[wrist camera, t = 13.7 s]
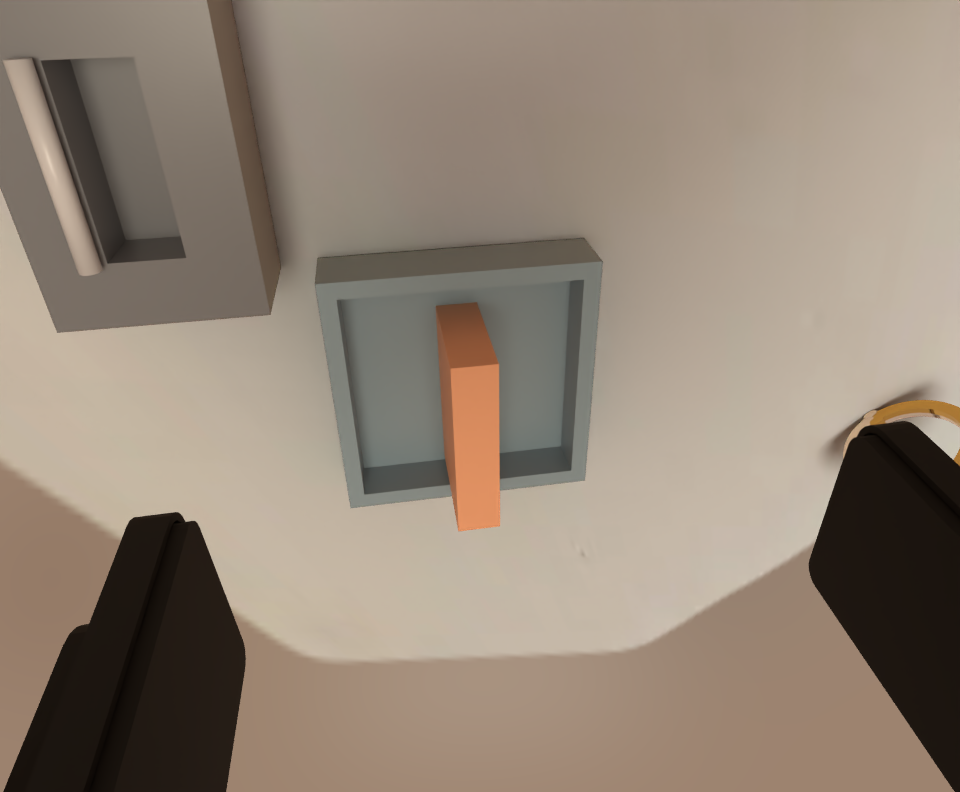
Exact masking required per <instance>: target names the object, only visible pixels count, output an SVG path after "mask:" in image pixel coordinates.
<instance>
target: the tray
mask: <svg viewBox="0 0 960 792" xmlns="http://www.w3.org/2000/svg"><path fill="white" fill-rule="evenodd" d="M602 265H603V261H602V260H601V259H600V257H599V256H598V255H597V254H596V252H595V251H594V250H593V249H592V247H591V246H590V245H589V244H588V243H587V241H586V240H585V239H584V238H579V239H566V240H553V241H539V242H526V243H513V244H499V245H486V246H473V247H459V248H446V249H433V250H419V251H406V252H392V253H379V254H366V255H352V256H339V257H326V258H318V259H317V269H316V278H315V288H316V295H317V301H318V307H319V313H320V320H321V326H322V332H323V338H324V345H325V351H326V357H327V363H328V370H329V376H330V382H331V388H332V395H333V401H334V407H335V413H336V420H337V426H338V432H339V438H340V445H341V451H342V457H343V463H344V470H345V476H346V482H347V488H348V495H349V501H350V507H351V508H357V507H365V506H373V505H382V504H390V503H399V502H407V501H416V500H424V499H433V498H441V497H450V496H452V493H451V488H450V482H449V477H448V471H447V466H446V461H445V455H444V439H443V423H442V406H441V389H440V373H439V356H438V340H437V323H436V306H439V305H450V304H462V303H474V302H477V304H478V307H479V310H480V313H481V315H482V318H483V321H484V324H485V326H486V329H487V332H488V335H489V338H490V340H491V343H492V346H493V349H494V352H495V354H496V357H497V360H498V363H499V454H500V490H509V489H517V488H526V487H534V486H543V485H551V484H560V483H568V482H577V481H585V473H586V461H587V449H588V436H589V424H590V412H591V400H592V387H593V375H594V363H595V351H596V339H597V326H598V314H599V302H600V290H601V277H602Z"/></svg>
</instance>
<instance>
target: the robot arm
mask: <svg viewBox="0 0 960 792" xmlns="http://www.w3.org/2000/svg"><path fill="white" fill-rule="evenodd" d="M809 572H810V576H811V579H812V581H813V583H814V585H815V587H816V588H817V590H818V591H819V592H820V594H821V595H822V597H823V598H824V600H825V601H826V603H827V604H828V606H829V607H830V609H831V610H832V612H833V613H834V615H835V616H836V618H837V619H838V621H839V622H840V623H841V625H842V626H843V628H844V629H845V631H846V632H847V634H848V635H849V637H850V638H851V640H852V641H853V643H854V644H855V646H856V647H857V649H858V650H859V652H860V653H861V654H862V656H863V657H864V659H865V660H866V662H867V663H868V665H869V666H870V668H871V669H872V671H873V672H874V673H875V675H876V676H877V678H878V680H879V681H880V682H881V684H882V685H883V687H884V688H885V689H886V691H887V692H888V694H889V696H890V697H891V698H892V700H893V702H894V703H895V705H896V706H897V708H898V709H899V710H900V712H901V713H902V715H903V716H904V718H905V719H906V721H907V722H908V724H909V725H910V727H911V728H912V729H913V731H914V732H915V734H916V736H917V737H918V739H919V740H920V741H921V743H922V744H923V746H924V747H925V749H926V750H927V752H928V753H929V755H930V756H931V758H932V759H933V760H934V762H935V764H936V765H937V767H938V768H939V769H940V771H941V772H942V774H943V775H944V777H945V778H946V780H947V781H948V783H949V784H950V786H951V787H952V789H953V790H954V791H955V792H960V466H959V465H958V464H957V463H956V462H955V461H954V460H953V459H952V458H950V457H949V456H948V455H947V454H946V453H945V452H944V451H943V450H942V449H941V448H940V447H938V446H937V445H936V444H935V443H934V442H933V441H932V440H931V439H930V438H929V437H928V436H926V435H925V434H924V433H923V432H922V431H921V430H920V429H919V428H918V427H917V426H915V425H914V424H912V423H910V422H906V421H901V422H893V423H885V424H877V425H869V426H865V427H864V428H862V429H861V430H860V432H859V433H858V435H857V437H855V438H853V439H852V440H851V441H850V443H849V444H848V447H847V450H846V453H845V456H844V459H843V462H842V465H841V468H840V471H839V474H838V477H837V480H836V483H835V486H834V489H833V492H832V495H831V498H830V501H829V503H828V506H827V509H826V512H825V515H824V518H823V521H822V524H821V527H820V530H819V533H818V536H817V539H816V542H815V545H814V548H813V551H812V554H811V557H810V560H809ZM245 660H246V658H245V647H244V643H243V639H242V637H241V635H240V632H239V629H238V626H237V624H236V621H235V619H234V616H233V613H232V611H231V608H230V606H229V603H228V600H227V598H226V595H225V593H224V590H223V587H222V585H221V582H220V579H219V577H218V574H217V572H216V569H215V566H214V564H213V561H212V559H211V556H210V553H209V551H208V548H207V546H206V543H205V540H204V538H203V535H202V533H201V530H200V528H199V526H198V524H197V523H196V522H195V521H189V522H185V520H184V518H183V517H182V515H181V514H180V513H178V512H174V513H166V514H158V515H150V516H142V517H134V518H133V519H131V520H130V521H129V523H128V525H127V527H126V529H125V532H124V535H123V537H122V540H121V542H120V545H119V548H118V550H117V553H116V555H115V558H114V561H113V563H112V566H111V569H110V571H109V574H108V576H107V579H106V582H105V584H104V587H103V590H102V592H101V595H100V597H99V600H98V602H97V605H96V608H95V610H94V613H93V616H92V618H91V621H90V623H89V624H86V625H81V626H78V627H76V628H75V629H74V630H73V631H72V632H71V633H70V634H69V636H68V638H67V640H66V642H65V644H64V645H63V647H62V650H61V652H60V654H59V657H58V659H57V662H56V664H55V667H54V669H53V672H52V674H51V676H50V679H49V681H48V684H47V686H46V689H45V691H44V694H43V696H42V698H41V701H40V703H39V706H38V708H37V711H36V713H35V716H34V718H33V721H32V723H31V725H30V728H29V730H28V733H27V735H26V738H25V740H24V742H23V745H22V747H21V750H20V752H19V755H18V757H17V760H16V762H15V764H14V767H13V769H12V772H11V774H10V777H9V779H8V782H7V784H6V787H5V789H4V792H226V788H227V782H228V775H229V768H230V762H231V756H232V750H233V743H234V736H235V730H236V724H237V717H238V711H239V704H240V698H241V691H242V685H243V678H244V672H245Z"/></svg>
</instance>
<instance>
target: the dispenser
mask: <svg viewBox="0 0 960 792" xmlns="http://www.w3.org/2000/svg"><path fill="white" fill-rule="evenodd" d="M0 188H1V191H2V193H3V196H4V198H5V201H6V204H7V206H8V209H9V211H10V214H11V216H12V219H13V221H14V224H15V226H16V229H17V232H18V234H19V237H20V239H21V242H22V244H23V247H24V249H25V252H26V254H27V257H28V259H29V262H30V265H31V267H32V270H33V272H34V275H35V277H36V280H37V282H38V285H39V287H40V290H41V292H42V295H43V298H44V300H45V303H46V305H47V308H48V310H49V313H50V315H51V318H52V320H53V323H54V325H55V328H56V331H57V333H60V332H72V331H84V330H96V329H108V328H120V327H132V326H143V325H155V324H167V323H179V322H191V321H203V320H215V319H227V318H239V317H251V316H263V315H271V310H272V305H273V301H274V296H275V292H276V287H277V283H278V278H279V274H280V269H281V265H280V260H279V254H278V249H277V243H276V238H275V233H274V227H273V222H272V217H271V211H270V206H269V200H268V195H267V190H266V184H265V179H264V174H263V168H262V163H261V157H260V152H259V147H258V141H257V136H256V131H255V125H254V120H253V114H252V109H251V104H250V98H249V93H248V88H247V82H246V77H245V71H244V66H243V61H242V55H241V50H240V45H239V39H238V34H237V28H236V23H235V18H234V12H233V7H232V2H231V0H0Z"/></svg>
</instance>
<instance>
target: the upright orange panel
mask: <svg viewBox="0 0 960 792" xmlns="http://www.w3.org/2000/svg"><path fill="white" fill-rule="evenodd" d="M436 323H437V340H438V356H439V373H440V389H441V406H442V423H443V439H444V455H445V461H446V466H447V471H448V477H449V482H450V488H451V493H452V498H453V504H454V509H455V515H456V520H457V525H458V531H465V530H473V529H481V528H489V527H497V526H500V454H499V363H498V360H497V357H496V354H495V352H494V349H493V346H492V343H491V340H490V338H489V335H488V332H487V329H486V326H485V324H484V321H483V318H482V315H481V313H480V310H479V307H478V304H477V302H474V303H462V304H450V305H439V306H436Z"/></svg>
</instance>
